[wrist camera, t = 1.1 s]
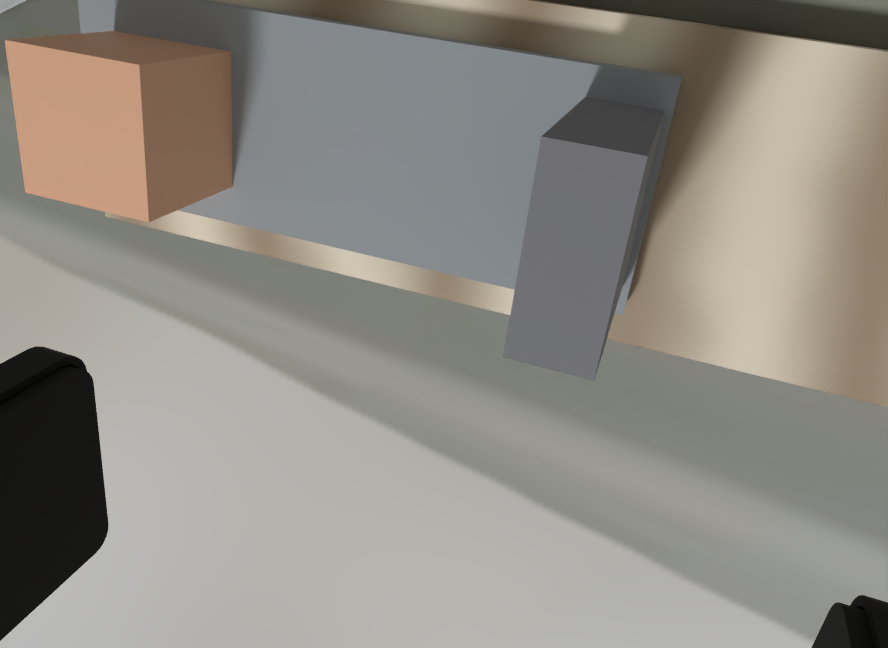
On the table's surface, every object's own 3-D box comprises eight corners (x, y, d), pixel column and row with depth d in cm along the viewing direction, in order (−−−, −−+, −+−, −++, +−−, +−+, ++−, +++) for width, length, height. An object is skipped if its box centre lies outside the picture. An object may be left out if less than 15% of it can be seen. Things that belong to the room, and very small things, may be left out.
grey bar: (682, 75, 24) (669, 113, 17) (625, 306, 27) (596, 414, 20) (91, -19, 29) (-102, -19, 22) (109, 186, 32) (-53, 240, 25)
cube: (231, 51, 27) (139, 64, 23) (232, 186, 29) (148, 222, 25) (113, 30, 28) (4, 39, 24) (123, 162, 30) (25, 192, 26)
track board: (1072, 76, 21) (1087, 80, 21) (919, 402, 26) (926, 416, 25) (99, -63, 29) (80, -64, 28) (120, 210, 34) (105, 216, 33)
